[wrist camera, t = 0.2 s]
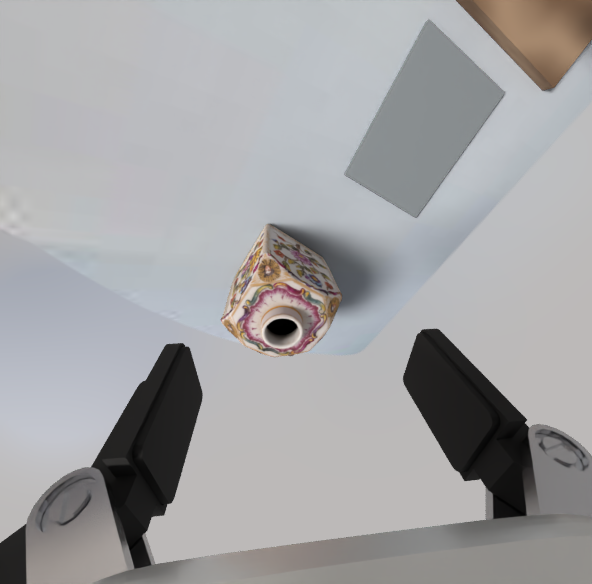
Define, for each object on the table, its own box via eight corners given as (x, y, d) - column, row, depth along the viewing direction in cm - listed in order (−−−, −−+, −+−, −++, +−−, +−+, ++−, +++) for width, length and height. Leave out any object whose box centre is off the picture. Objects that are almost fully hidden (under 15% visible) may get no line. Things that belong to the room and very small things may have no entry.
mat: (425, 21, 28) (429, 19, 27) (501, 93, 32) (505, 92, 31) (343, 174, 35) (345, 174, 35) (414, 217, 39) (416, 217, 39)
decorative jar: (232, 277, 42) (209, 349, 26) (265, 220, 37) (262, 265, 22) (289, 306, 46) (299, 383, 30) (325, 258, 41) (358, 318, 26)
